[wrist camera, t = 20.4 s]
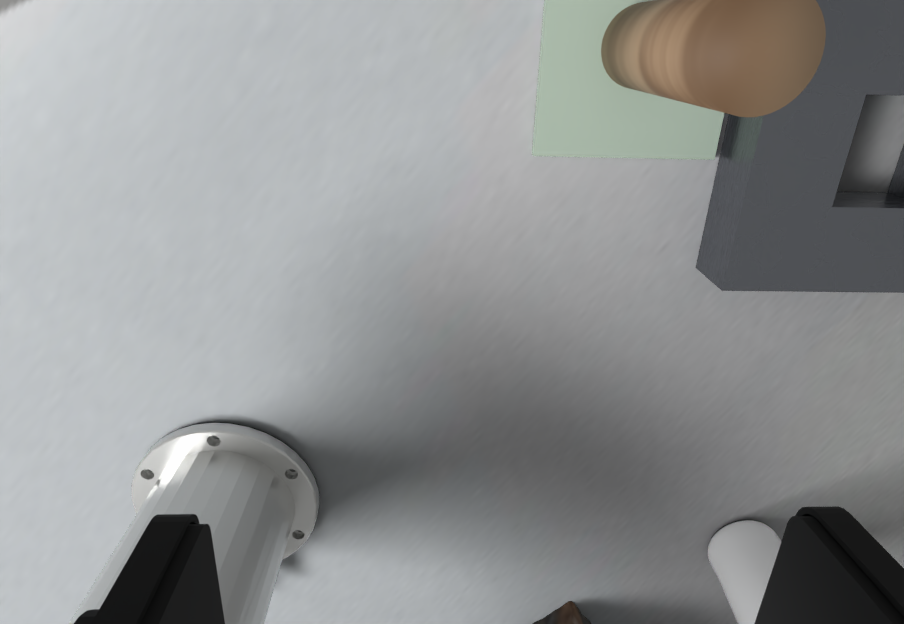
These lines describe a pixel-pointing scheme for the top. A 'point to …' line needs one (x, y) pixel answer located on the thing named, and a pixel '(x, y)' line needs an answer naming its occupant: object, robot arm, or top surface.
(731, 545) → the drinking glass
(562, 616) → the jagged brown boulder
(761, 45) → the tan rounded cylinder
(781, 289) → the dark grey socket block
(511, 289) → the top surface
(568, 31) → the set down mat
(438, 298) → the top surface
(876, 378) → the top surface
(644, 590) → the top surface
